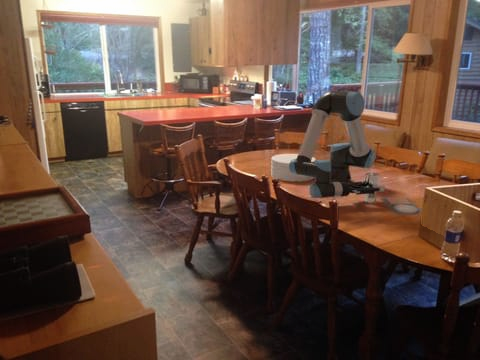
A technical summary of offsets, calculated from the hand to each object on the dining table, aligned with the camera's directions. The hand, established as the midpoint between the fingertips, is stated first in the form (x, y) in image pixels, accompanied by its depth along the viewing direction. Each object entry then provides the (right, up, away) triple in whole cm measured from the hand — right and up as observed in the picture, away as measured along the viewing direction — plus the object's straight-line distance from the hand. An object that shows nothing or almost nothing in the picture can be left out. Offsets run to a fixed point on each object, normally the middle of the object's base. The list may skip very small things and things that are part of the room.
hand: (380, 186), depth 217 cm
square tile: (+9, -8, 0) cm, 12 cm away
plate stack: (-39, +6, +51) cm, 65 cm away
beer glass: (-5, -8, +1) cm, 10 cm away
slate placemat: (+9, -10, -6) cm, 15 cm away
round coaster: (+9, -11, -11) cm, 18 cm away
